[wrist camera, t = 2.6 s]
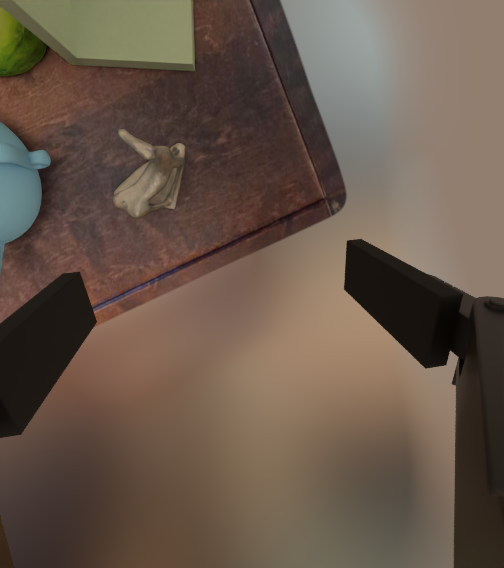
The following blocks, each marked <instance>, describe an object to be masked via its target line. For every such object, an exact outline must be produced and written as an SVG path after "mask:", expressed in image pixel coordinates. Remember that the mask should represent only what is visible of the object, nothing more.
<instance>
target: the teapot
mask: <svg viewBox="0 0 504 568" xmlns="http://www.w3.org/2000/svg"><path fill="white" fill-rule="evenodd" d="M50 163H51V160H50V156H49V154H48V153H47V152H46V151H45V150H37V151H34V152H29V151H28V150H27V148H26V147H25V146H24V144H23V143H22V142H21V140H20V139H19V138H18V137H17V136H16V135H15V134H14V133H13V132H12V131H11V130H10V129H9V128H8V127H7V126H5V125H4V124H3V123H1V122H0V271H1V265H2V259H3V253H4V246H5V243H8V242H11V241H13V240H15V239H16V238H18V237H20V236H21V235H22V234H24V233H25V232H26V231H27V230H28V229H29V228H30V226H31V225H32V224H33V222H34V221H35V219H36V217H37V215H38V213H39V210H40V206H41V199H42V187H41V180H40V177H39V173H38V170H37V169H42V168H46V167H48V166H49V165H50Z"/></svg>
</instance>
